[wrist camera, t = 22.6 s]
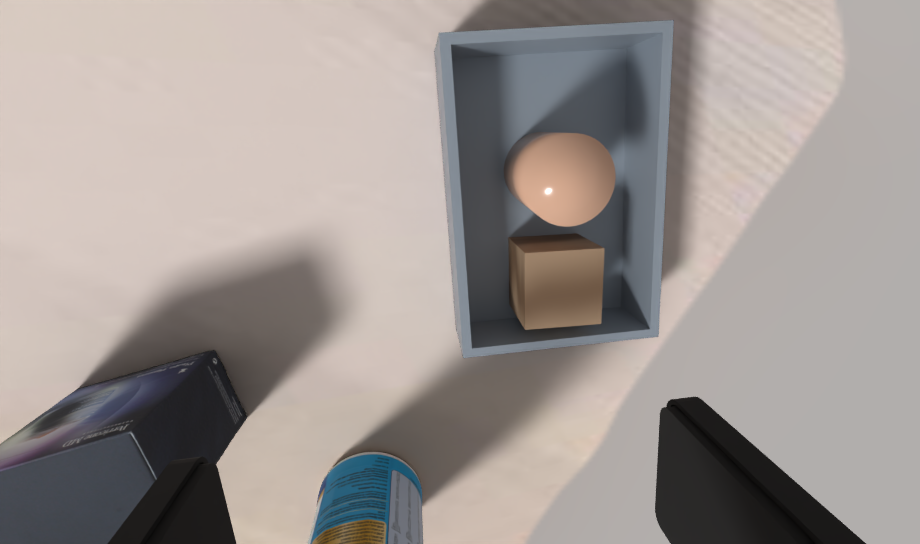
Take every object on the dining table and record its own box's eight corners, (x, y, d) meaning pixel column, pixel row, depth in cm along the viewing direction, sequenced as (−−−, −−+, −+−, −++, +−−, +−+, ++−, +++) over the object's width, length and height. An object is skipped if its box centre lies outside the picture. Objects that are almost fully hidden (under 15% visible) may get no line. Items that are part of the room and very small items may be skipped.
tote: (434, 50, 30) (438, 32, 25) (632, 39, 31) (673, 20, 26) (456, 328, 35) (463, 358, 30) (625, 311, 36) (658, 336, 31)
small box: (215, 342, 33) (130, 427, 23) (250, 418, 35) (186, 527, 25) (71, 385, 33) (-77, 489, 23) (114, 459, 35) (-5, 586, 25)
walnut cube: (508, 237, 33) (524, 253, 28) (576, 233, 33) (604, 248, 29) (509, 304, 34) (525, 329, 30) (574, 299, 35) (601, 323, 30)
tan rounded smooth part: (587, 147, 32) (630, 152, 25) (558, 215, 33) (592, 238, 26) (520, 120, 31) (546, 118, 24) (492, 192, 32) (511, 209, 25)
